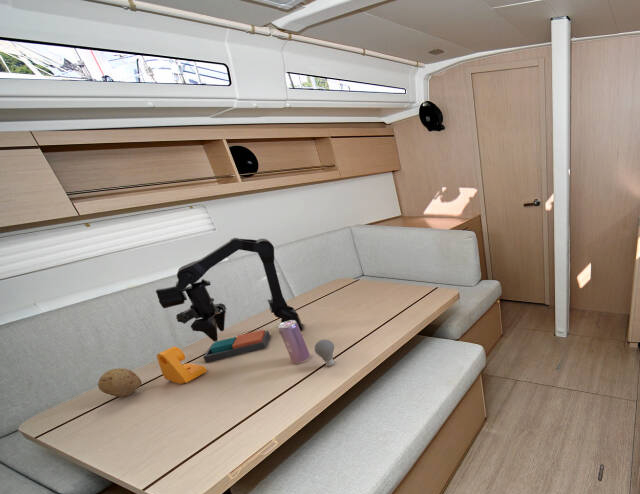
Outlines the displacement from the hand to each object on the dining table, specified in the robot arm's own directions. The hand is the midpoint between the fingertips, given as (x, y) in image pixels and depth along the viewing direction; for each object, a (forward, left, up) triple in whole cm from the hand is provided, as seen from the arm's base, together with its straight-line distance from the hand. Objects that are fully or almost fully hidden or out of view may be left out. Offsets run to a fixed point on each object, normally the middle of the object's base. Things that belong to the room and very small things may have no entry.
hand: (219, 335), depth 136 cm
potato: (+25, +16, -7) cm, 30 cm away
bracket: (+9, +14, -7) cm, 18 cm away
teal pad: (0, 0, -7) cm, 7 cm away
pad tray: (-4, 0, -7) cm, 8 cm away
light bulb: (-38, +34, -7) cm, 52 cm away
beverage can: (-28, +24, -7) cm, 38 cm away
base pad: (-9, 0, -7) cm, 11 cm away
